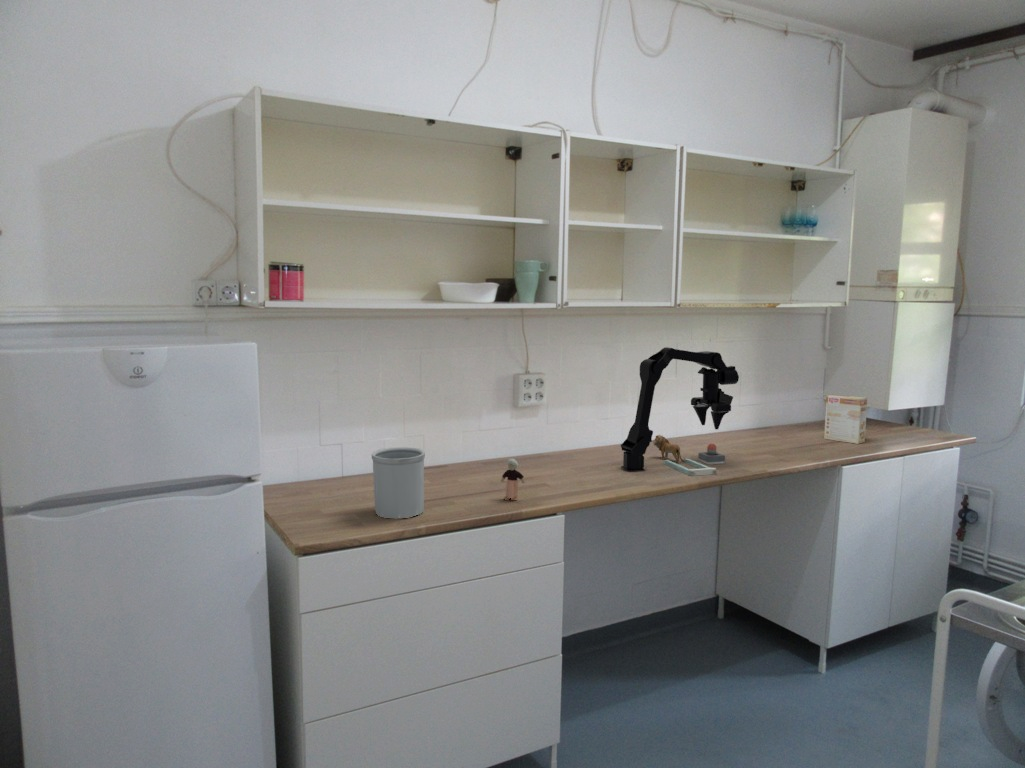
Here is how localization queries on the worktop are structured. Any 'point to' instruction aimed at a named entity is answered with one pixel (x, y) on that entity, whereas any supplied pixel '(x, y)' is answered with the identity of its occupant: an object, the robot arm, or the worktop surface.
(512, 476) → the grandmother figurine
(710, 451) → the dome plunger
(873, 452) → the worktop surface
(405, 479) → the utensil holder
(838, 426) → the coffeecake box
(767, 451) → the worktop surface
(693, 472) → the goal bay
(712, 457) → the button housing
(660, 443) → the lion figurine
